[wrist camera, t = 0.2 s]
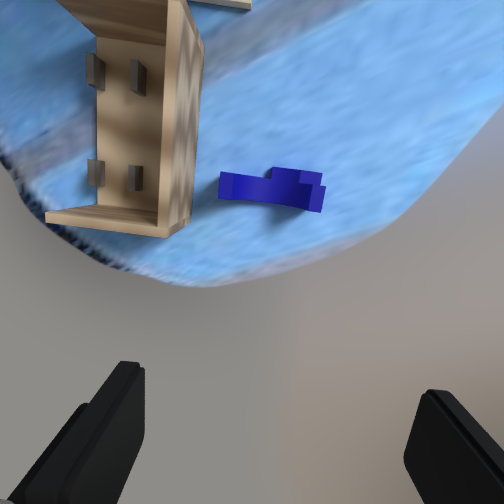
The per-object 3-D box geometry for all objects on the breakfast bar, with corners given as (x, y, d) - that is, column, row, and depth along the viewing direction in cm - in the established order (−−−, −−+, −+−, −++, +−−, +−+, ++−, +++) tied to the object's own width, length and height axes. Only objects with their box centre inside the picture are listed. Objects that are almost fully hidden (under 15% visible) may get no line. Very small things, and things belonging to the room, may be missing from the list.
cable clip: (317, 173, 37) (328, 172, 31) (310, 207, 38) (320, 212, 33) (227, 160, 37) (221, 157, 31) (223, 195, 38) (217, 198, 32)
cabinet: (103, 32, 33) (32, -36, 23) (204, 47, 34) (181, -13, 23) (103, 210, 39) (45, 222, 28) (190, 221, 39) (166, 238, 28)
